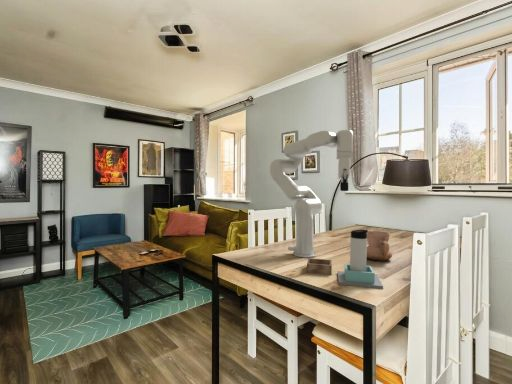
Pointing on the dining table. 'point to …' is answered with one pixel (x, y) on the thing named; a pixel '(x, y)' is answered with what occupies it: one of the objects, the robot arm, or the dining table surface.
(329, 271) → the frame
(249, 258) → the dining table surface
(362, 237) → the travel mug
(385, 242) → the ceramic jug
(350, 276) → the dock
